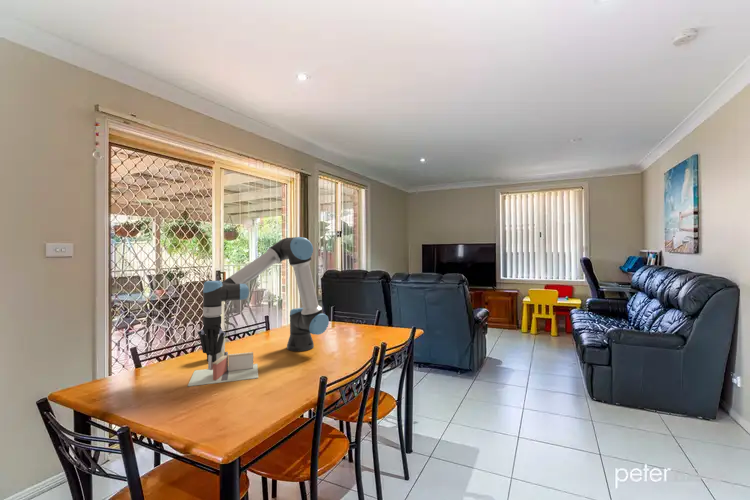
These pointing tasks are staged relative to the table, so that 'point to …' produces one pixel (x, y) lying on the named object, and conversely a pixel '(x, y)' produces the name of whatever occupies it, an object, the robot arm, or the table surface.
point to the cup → (221, 349)
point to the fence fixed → (239, 361)
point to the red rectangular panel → (219, 367)
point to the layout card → (207, 376)
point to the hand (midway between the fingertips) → (211, 369)
